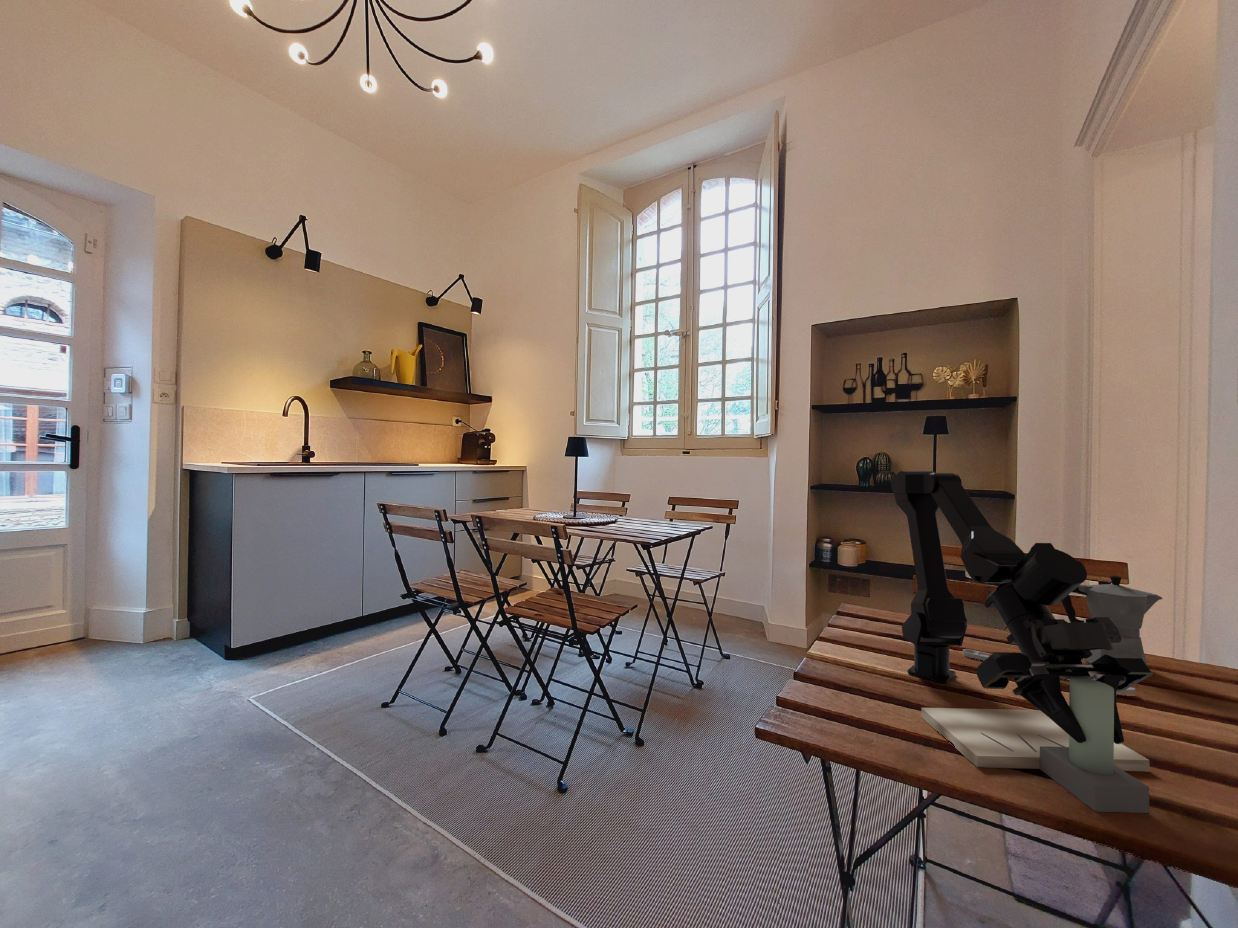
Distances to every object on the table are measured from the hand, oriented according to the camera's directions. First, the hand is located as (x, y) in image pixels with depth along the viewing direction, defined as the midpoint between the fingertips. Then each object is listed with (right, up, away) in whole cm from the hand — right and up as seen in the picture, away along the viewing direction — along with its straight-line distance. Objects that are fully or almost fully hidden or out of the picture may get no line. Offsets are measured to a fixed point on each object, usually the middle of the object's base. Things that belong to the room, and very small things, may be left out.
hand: (1101, 742), depth 60 cm
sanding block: (0, -7, +1) cm, 7 cm away
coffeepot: (+40, -7, +40) cm, 57 cm away
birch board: (0, -7, +12) cm, 14 cm away
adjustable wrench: (+24, -7, +36) cm, 44 cm away
